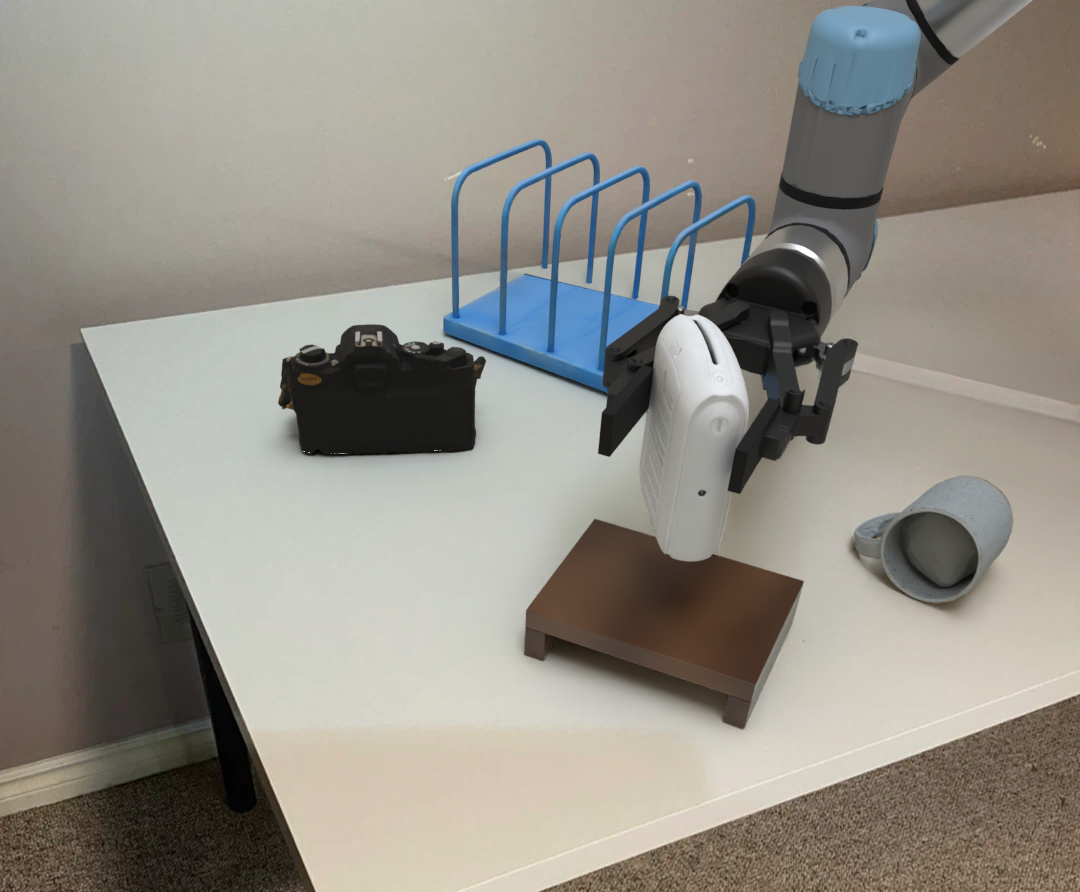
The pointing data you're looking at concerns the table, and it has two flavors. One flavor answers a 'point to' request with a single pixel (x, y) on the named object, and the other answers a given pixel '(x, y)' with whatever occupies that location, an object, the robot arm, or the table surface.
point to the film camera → (381, 394)
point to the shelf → (667, 613)
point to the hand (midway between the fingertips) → (670, 453)
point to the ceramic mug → (940, 539)
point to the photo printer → (692, 437)
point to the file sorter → (559, 308)
